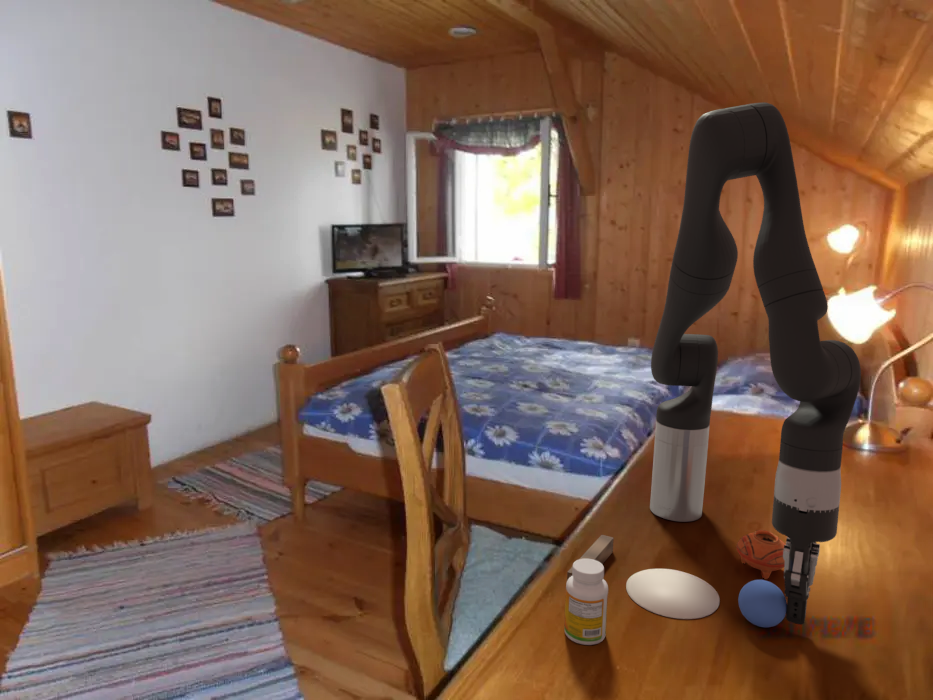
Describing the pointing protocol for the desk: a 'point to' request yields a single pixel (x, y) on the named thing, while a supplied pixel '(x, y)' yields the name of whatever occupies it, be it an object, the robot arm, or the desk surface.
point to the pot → (762, 551)
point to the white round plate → (672, 593)
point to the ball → (762, 603)
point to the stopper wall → (597, 551)
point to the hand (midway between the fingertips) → (795, 620)
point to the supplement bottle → (586, 603)
